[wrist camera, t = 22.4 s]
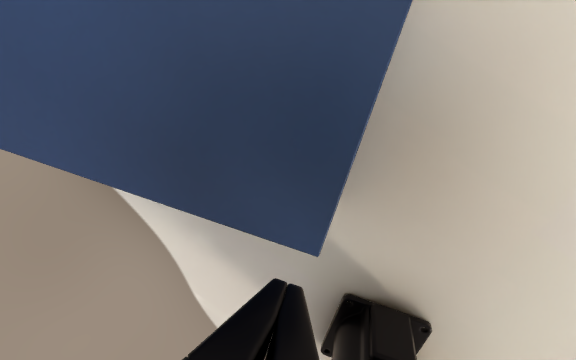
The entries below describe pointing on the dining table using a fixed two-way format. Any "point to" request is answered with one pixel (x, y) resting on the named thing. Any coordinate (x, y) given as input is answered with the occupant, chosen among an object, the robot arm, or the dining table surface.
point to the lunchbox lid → (201, 101)
